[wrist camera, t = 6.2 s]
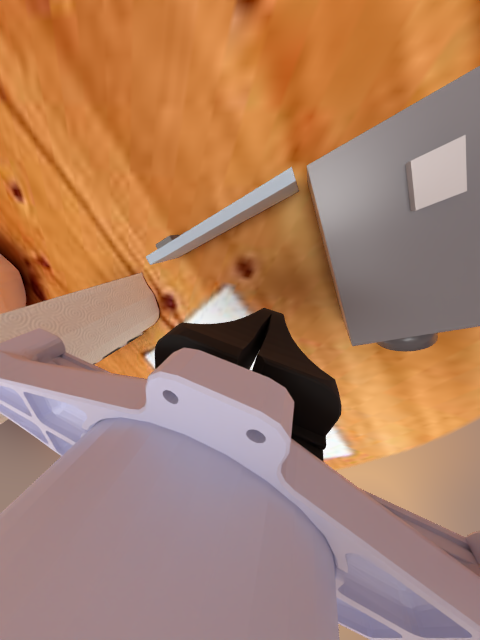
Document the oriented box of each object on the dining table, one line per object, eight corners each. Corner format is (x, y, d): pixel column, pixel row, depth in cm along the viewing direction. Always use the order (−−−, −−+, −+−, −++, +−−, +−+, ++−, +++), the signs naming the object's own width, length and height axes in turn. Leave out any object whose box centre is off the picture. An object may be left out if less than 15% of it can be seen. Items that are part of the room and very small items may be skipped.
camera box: (435, 112, 12) (517, 40, 7) (448, 313, 17) (505, 350, 12) (307, 181, 16) (306, 162, 11) (346, 332, 20) (358, 366, 15)
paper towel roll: (146, 330, 30) (-113, 502, 11) (118, 299, 28) (-219, 433, 10) (173, 309, 26) (-143, 508, 8) (142, 272, 25) (-310, 404, 7)
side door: (298, 191, 16) (295, 181, 12) (177, 257, 22) (150, 264, 18) (292, 170, 15) (287, 152, 12) (170, 244, 22) (141, 248, 18)
